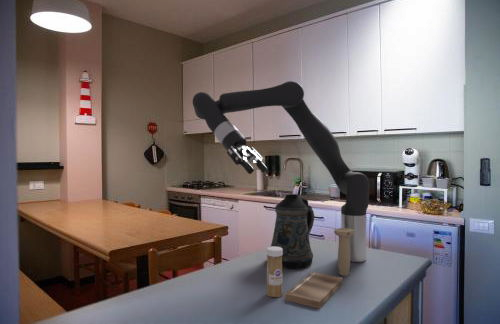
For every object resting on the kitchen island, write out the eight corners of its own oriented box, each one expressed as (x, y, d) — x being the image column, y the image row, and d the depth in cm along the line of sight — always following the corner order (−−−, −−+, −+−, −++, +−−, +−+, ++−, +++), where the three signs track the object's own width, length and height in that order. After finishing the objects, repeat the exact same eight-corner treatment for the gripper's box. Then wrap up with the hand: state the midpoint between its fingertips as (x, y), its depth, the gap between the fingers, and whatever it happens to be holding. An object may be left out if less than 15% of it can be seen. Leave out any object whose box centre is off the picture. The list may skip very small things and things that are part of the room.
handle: (356, 275, 111) (356, 230, 111) (339, 278, 109) (339, 232, 109) (347, 271, 116) (348, 227, 115) (331, 273, 114) (331, 229, 113)
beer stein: (262, 266, 121) (261, 197, 121) (278, 251, 139) (278, 191, 138) (307, 272, 115) (307, 199, 114) (318, 256, 133) (318, 193, 132)
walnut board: (312, 277, 110) (312, 271, 110) (342, 283, 104) (342, 277, 104) (285, 299, 93) (285, 293, 93) (319, 308, 88) (319, 301, 88)
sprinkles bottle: (274, 299, 93) (273, 251, 93) (263, 294, 97) (263, 247, 97) (286, 295, 96) (285, 248, 96) (275, 290, 100) (275, 244, 99)
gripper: (223, 127, 108) (254, 164, 102) (247, 130, 120) (276, 163, 114) (211, 144, 111) (240, 181, 105) (235, 145, 123) (263, 178, 117)
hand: (259, 171), depth 109 cm, fingers open, 8 cm apart
